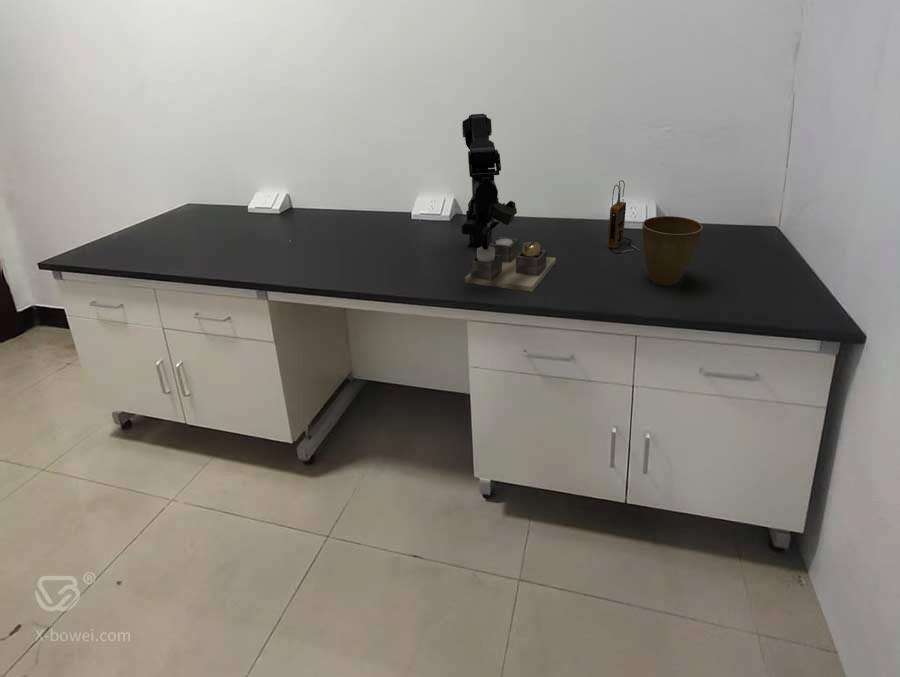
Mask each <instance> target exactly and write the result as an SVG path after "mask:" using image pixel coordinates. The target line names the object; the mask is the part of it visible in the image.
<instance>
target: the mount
mask: <svg viewBox="0 0 900 677" xmlns="http://www.w3.org/2000/svg"><path fill="white" fill-rule="evenodd" d="M498 239H511V240H512V244H511V245H510V246H507V245H498V244H496V240H498ZM492 241H493V242H491V243H490V244H489V246H491V247H494V248H495V260H494V261H493V262H492V263H488V262H480V261H477V255H475V256H474V257H473V258H472V259H471V260H470V262H469V263H470V264H469V266H470V273H468V274H467V275H466V276H465V278H464V283H466V284H473V285H480V286H487V287H495V288H503V289H510V290H516V291H524V292H529V293H530V292H531V293H532V292H533V291H534V289H535V288H537V286H538V285H539V284H540V283H541V282H542V281H543V279H544V278H545V277H546V276H547V274H548V273H549V271H550V270H552V268H553V267H554V266H553V265H555V264H556V263H557V258H556V257H550V256H547V250H542V249H540V256H539V257H538V258H531V257H522V250H520V248H519V246H520V245H519V244H520V242H519V241H520V240H519V238H513V237H503V236H497V237H496V238H495V239H494V240H492ZM519 251H520V252H519Z"/></svg>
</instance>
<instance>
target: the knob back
mask: <svg viewBox="0 0 900 677" xmlns="http://www.w3.org/2000/svg"><path fill="white" fill-rule="evenodd" d="M496 244H498V245H507V246H510V245H511V244H512V240H511V239H498V240H496Z"/></svg>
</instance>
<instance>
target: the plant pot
mask: <svg viewBox="0 0 900 677" xmlns="http://www.w3.org/2000/svg"><path fill="white" fill-rule="evenodd" d="M703 228H704V227H703V225H702V224H701V222H698V221H696V220H694V219H690V218H687V217H684V216H683V217H681V216H675V215H673V216H672V215H665V216H664V215H663V216H662V215H661V216H655V217H654V216H653V217H650V218H646V219H644V220H643V221H642V245H643V252H644V259H645V265H646V269H647V272H648V277H649V279H650V281H651V282H652V283H653V284H655V285H659V286H664V287H665V286H675V285H676V284H678V283H679V281H680V280H681V278H682V277H683V274H684V273H685V271H686V269H687V268H688V265H689V264H690V262H691V259H692V258H693V255H694V253H695V251H696V248H697V245H698V242H699V240H700V237H701V234H702V231H703Z"/></svg>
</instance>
